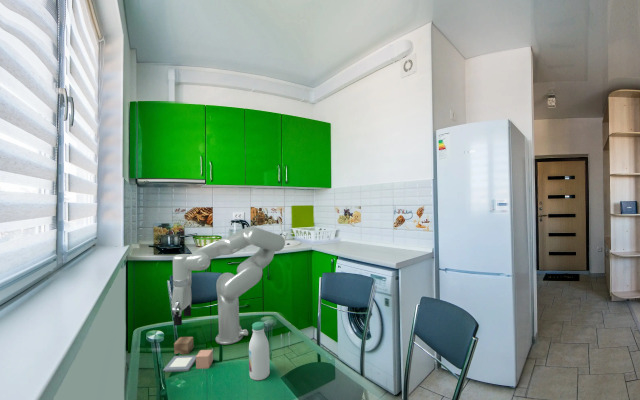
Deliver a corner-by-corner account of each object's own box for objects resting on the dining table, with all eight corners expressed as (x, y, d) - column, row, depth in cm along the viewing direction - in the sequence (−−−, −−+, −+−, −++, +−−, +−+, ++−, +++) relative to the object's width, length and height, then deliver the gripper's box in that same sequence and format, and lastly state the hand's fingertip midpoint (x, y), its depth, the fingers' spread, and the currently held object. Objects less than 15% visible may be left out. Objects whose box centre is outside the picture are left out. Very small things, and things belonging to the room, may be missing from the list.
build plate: (198, 357, 131) (197, 355, 131) (188, 370, 121) (188, 368, 121) (174, 357, 131) (174, 355, 131) (163, 371, 121) (162, 369, 121)
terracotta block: (212, 361, 127) (212, 349, 127) (208, 368, 122) (208, 356, 122) (200, 361, 127) (200, 350, 127) (196, 368, 122) (195, 356, 122)
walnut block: (193, 347, 139) (193, 336, 139) (188, 354, 133) (187, 343, 133) (180, 347, 139) (180, 337, 139) (174, 354, 133) (173, 343, 133)
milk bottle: (273, 370, 120) (272, 320, 119) (263, 382, 112) (262, 329, 112) (256, 367, 122) (254, 318, 122) (245, 378, 115) (243, 326, 114)
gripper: (182, 277, 144) (182, 312, 144) (164, 288, 127) (164, 329, 127) (198, 277, 144) (198, 312, 145) (182, 288, 127) (182, 328, 127)
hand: (182, 320), depth 136 cm, fingers open, 9 cm apart
